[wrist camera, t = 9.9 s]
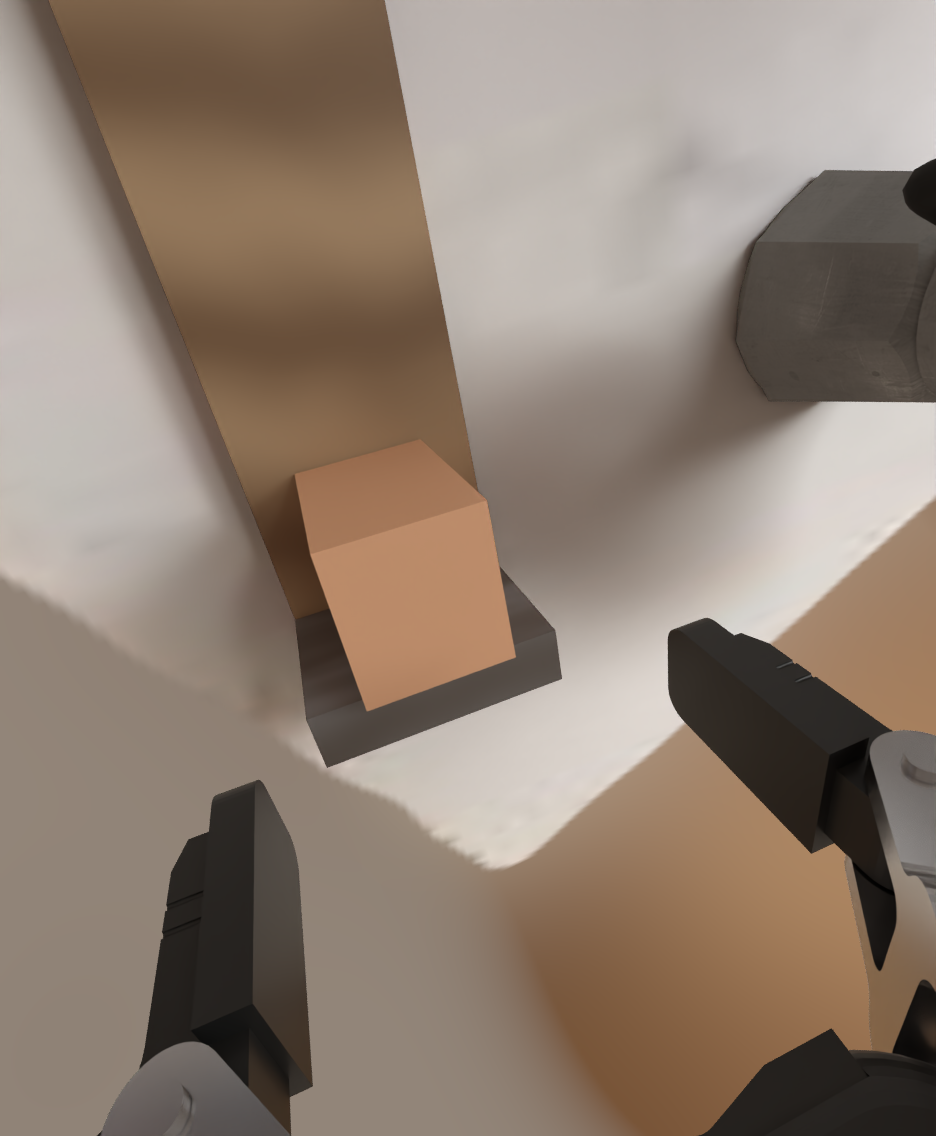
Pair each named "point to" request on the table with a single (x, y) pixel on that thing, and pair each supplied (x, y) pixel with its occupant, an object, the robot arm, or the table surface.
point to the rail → (295, 282)
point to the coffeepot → (846, 291)
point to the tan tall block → (406, 570)
